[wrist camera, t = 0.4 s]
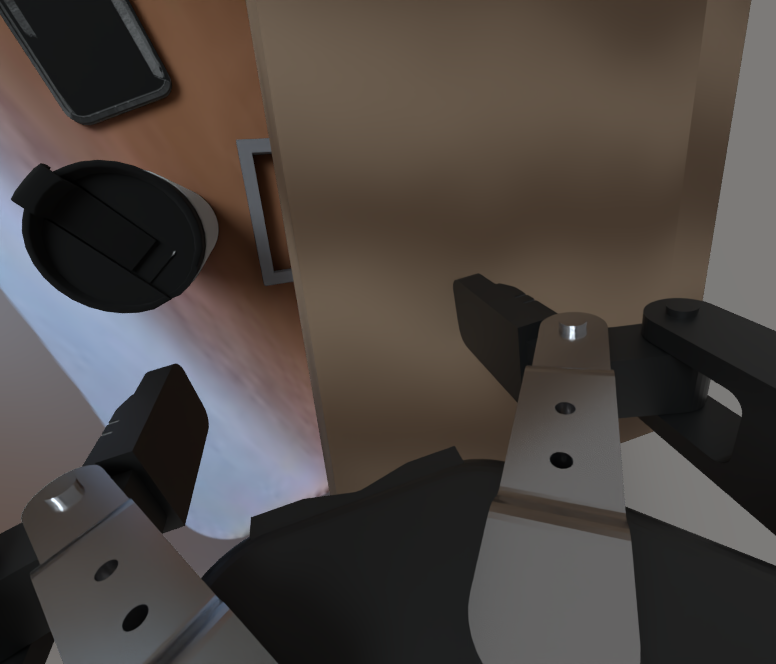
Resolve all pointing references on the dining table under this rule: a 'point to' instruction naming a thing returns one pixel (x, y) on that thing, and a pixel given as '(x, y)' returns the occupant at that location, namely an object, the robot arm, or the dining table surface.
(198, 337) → the dining table surface
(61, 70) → the phone
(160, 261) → the travel mug
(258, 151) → the seat frame
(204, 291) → the dining table surface
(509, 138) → the overhang shelf
